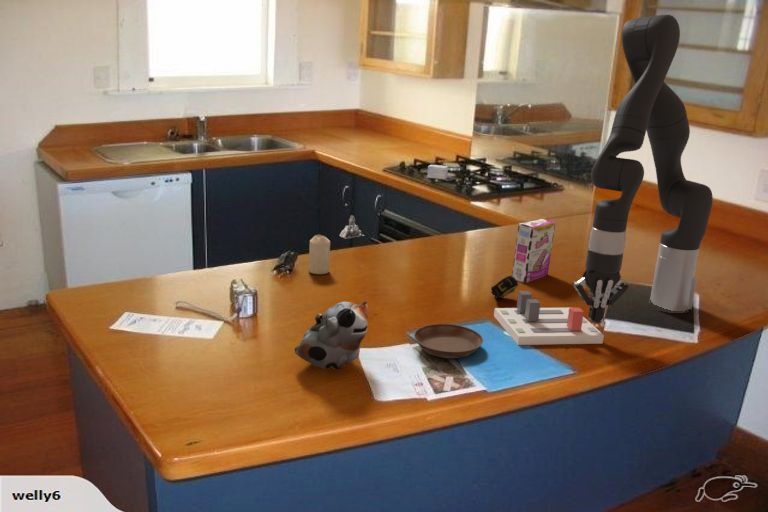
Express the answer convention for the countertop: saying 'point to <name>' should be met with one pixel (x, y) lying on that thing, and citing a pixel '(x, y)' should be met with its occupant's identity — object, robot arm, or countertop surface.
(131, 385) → the countertop surface
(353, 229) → the grey stone figurine
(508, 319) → the breaker panel
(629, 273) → the countertop surface
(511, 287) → the tape measure
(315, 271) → the candle
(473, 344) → the saucer
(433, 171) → the medicine box
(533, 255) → the candy bar box
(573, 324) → the block
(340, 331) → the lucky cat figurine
